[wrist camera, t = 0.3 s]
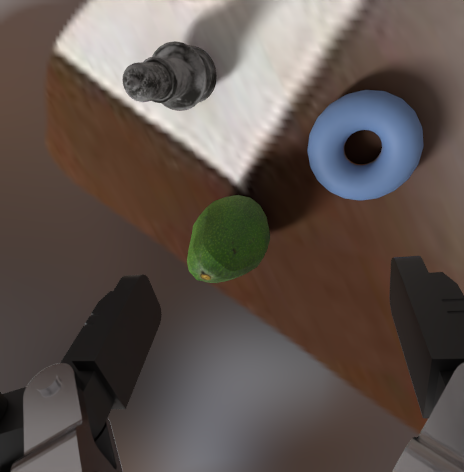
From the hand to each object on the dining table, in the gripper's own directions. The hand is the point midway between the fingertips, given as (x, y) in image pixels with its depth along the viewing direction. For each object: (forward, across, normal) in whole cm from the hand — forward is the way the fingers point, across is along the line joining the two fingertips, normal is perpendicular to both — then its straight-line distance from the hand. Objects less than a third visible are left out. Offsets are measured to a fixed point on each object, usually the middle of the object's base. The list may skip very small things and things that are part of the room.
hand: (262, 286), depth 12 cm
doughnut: (+26, -7, +6) cm, 28 cm away
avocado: (+27, +6, +13) cm, 30 cm away
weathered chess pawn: (+29, +9, -3) cm, 31 cm away
